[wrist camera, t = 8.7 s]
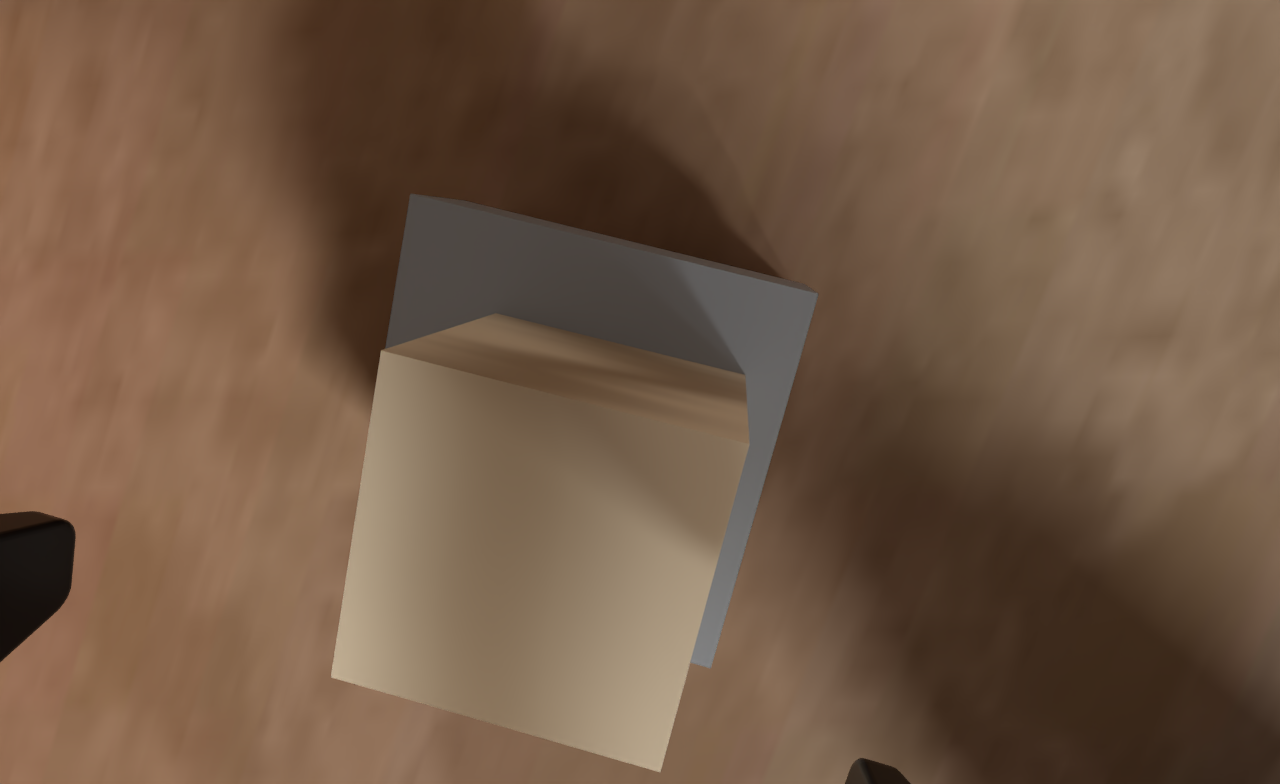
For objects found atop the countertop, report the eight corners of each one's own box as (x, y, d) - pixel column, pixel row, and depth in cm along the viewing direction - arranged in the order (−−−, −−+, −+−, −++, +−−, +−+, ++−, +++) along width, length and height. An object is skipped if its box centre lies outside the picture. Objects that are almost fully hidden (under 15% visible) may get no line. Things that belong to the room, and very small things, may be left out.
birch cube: (745, 374, 15) (749, 444, 10) (683, 606, 16) (660, 771, 11) (496, 313, 15) (380, 350, 10) (453, 543, 16) (330, 676, 11)
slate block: (804, 284, 17) (818, 293, 14) (714, 601, 19) (710, 668, 16) (463, 200, 18) (410, 194, 15) (407, 516, 19) (350, 566, 17)
